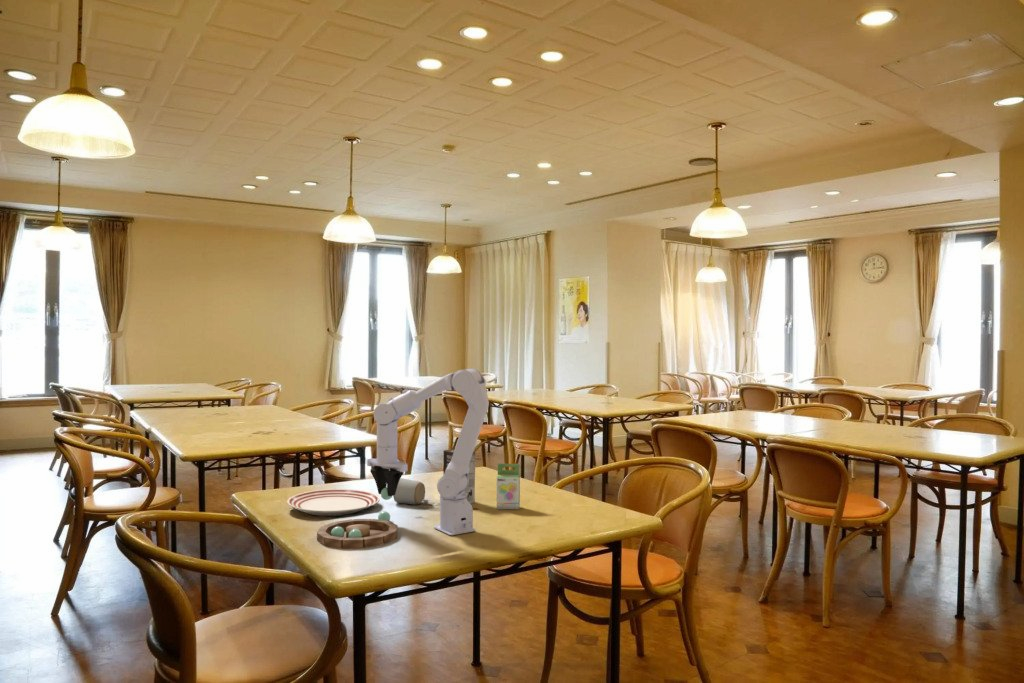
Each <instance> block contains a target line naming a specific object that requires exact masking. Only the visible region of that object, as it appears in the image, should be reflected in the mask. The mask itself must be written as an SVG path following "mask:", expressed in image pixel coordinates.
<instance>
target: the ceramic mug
mask: <svg viewBox="0 0 1024 683" xmlns="http://www.w3.org/2000/svg"><path fill="white" fill-rule="evenodd" d="M425 486H426V485H425V484H424V482H421V481H418V480H412V479H408V478H402V477H401V478H400V480H399V483H398V486H397V489H396V493H395V495H394V496H392V497H393V499H394V502H395V503H397V504H405V505H420V504H421V503H422V502H423V501H424V499H425V496H426V487H425Z"/></svg>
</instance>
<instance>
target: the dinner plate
mask: <svg viewBox="0 0 1024 683" xmlns="http://www.w3.org/2000/svg"><path fill="white" fill-rule="evenodd" d="M380 499H381V498H380V496H379V494H378V495H377V493H374V492H371V491H366V490H360V489H347V488H327V489H316V490H315V489H314V490H310V491H309V490H308V491H305V492H301V493H297V494H295V495H293V496H290V497H289V498H288V499H287V501H286V503H287V505H288V506H290V507H292V508H293V509H295V510H298V511H300V512H304V513H306V514H308V515H313V516H323V517H324V516H325V517H326V516H329V517H330V516H331V517H332V516H344V515H350V514H354V513H358V512H361V511H362V510H366V509H368V508H370V507H372V506H374V505H376V504H378V503H379V502H380Z"/></svg>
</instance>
